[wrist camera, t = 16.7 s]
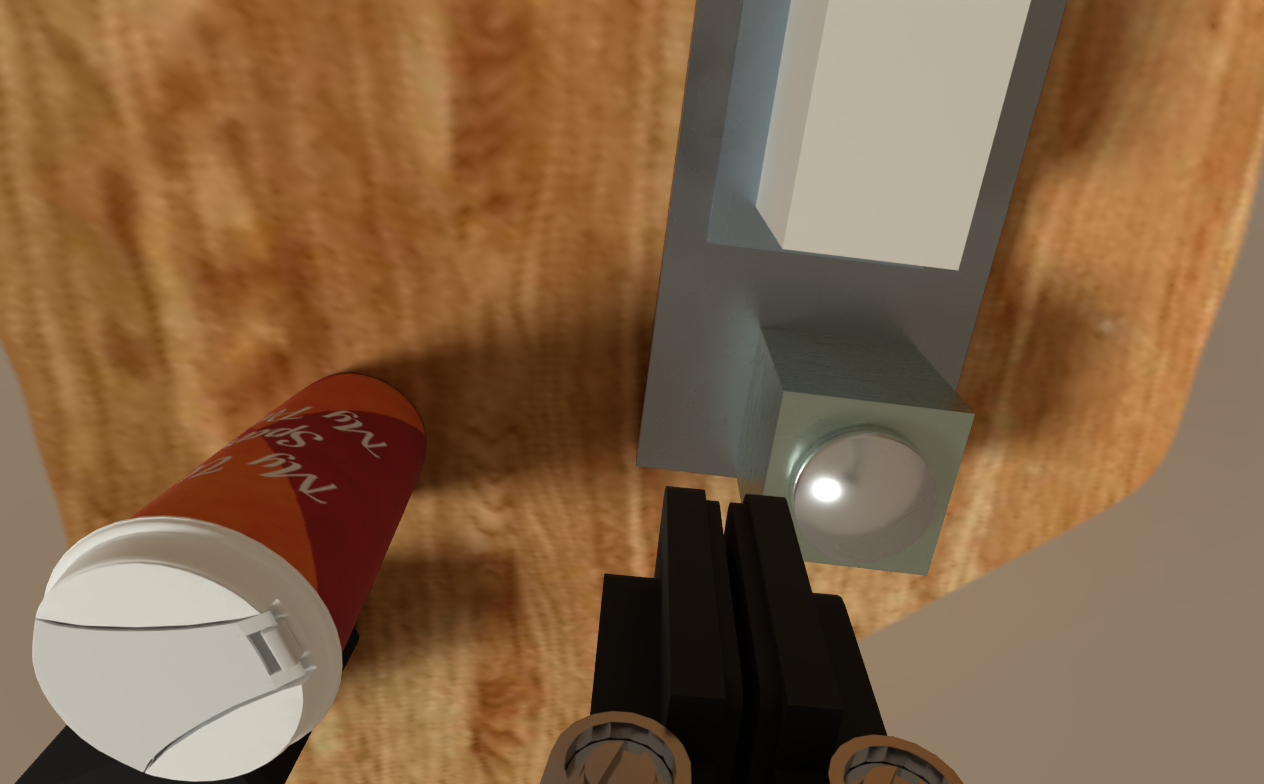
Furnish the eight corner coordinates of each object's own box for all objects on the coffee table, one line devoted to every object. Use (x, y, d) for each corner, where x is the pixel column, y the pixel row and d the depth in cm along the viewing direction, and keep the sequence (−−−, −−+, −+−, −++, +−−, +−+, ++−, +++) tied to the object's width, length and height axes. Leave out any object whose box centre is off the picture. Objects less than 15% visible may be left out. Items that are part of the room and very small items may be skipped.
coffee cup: (407, 322, 34) (230, 508, 20) (482, 493, 37) (373, 762, 23) (224, 379, 35) (-64, 593, 21) (311, 541, 38) (108, 824, 24)
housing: (792, -8, 27) (833, -28, 21) (943, 11, 27) (1031, -3, 21) (755, 206, 30) (782, 248, 23) (893, 223, 30) (958, 270, 23)
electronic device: (366, 629, 40) (276, 805, 30) (196, 696, 41) (63, 881, 32) (317, 561, 38) (207, 723, 29) (144, 633, 40) (-11, 807, 31)
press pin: (782, 362, 31) (810, 431, 25) (900, 377, 31) (953, 448, 25) (761, 468, 32) (782, 554, 27) (873, 481, 32) (918, 570, 27)
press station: (706, -82, 28) (724, -130, 21) (1058, -36, 28) (1200, -69, 21) (636, 449, 36) (631, 553, 28) (914, 482, 36) (981, 595, 28)
